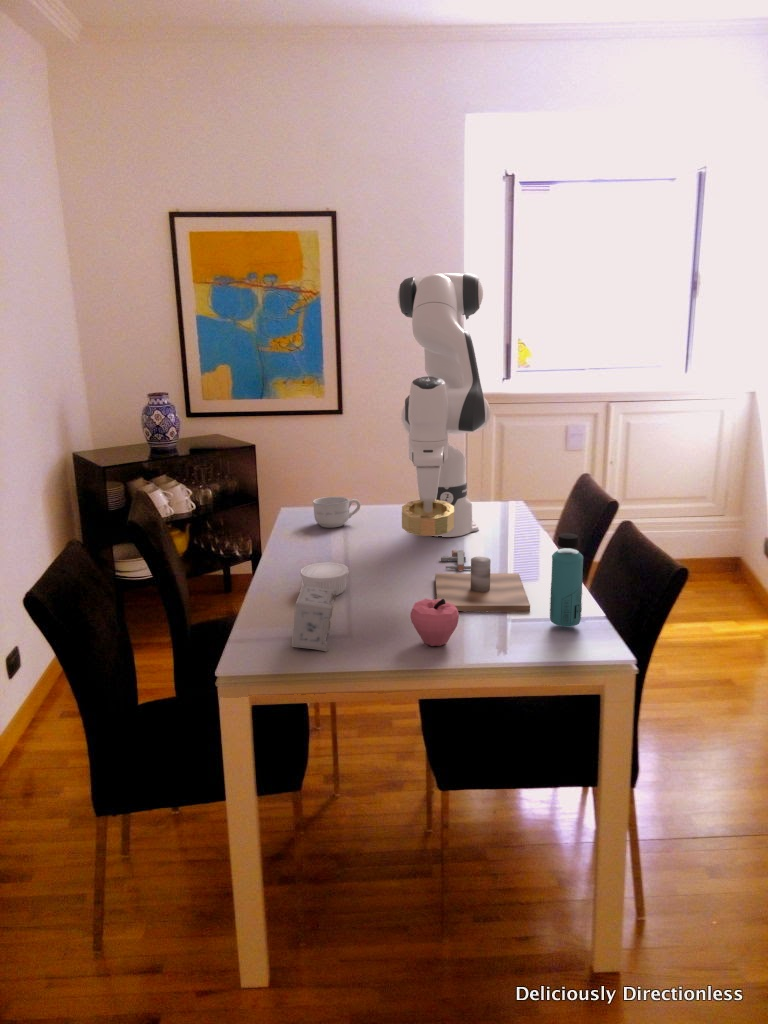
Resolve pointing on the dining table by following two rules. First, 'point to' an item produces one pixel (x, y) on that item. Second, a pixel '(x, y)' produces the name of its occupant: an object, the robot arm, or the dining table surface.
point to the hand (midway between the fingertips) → (428, 509)
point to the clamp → (456, 556)
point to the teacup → (333, 511)
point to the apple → (434, 620)
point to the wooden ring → (427, 518)
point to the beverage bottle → (566, 582)
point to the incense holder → (312, 618)
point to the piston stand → (483, 589)
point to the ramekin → (325, 576)
